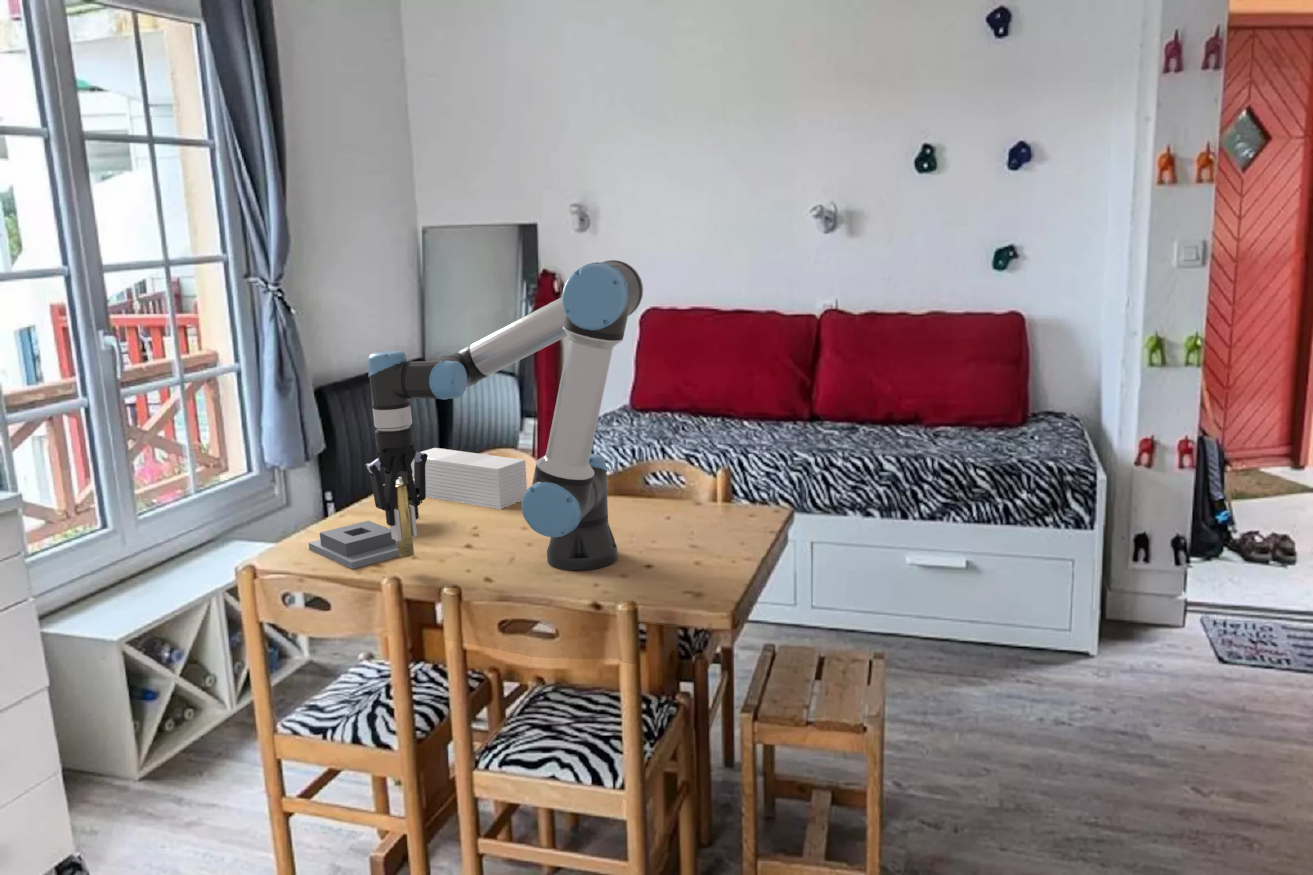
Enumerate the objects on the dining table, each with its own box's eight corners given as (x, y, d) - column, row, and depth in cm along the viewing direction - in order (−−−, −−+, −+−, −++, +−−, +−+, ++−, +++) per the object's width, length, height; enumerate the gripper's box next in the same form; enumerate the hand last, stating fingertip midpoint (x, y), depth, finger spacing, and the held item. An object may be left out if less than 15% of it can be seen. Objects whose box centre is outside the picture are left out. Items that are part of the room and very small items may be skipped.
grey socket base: (410, 553, 229) (408, 533, 228) (352, 569, 220) (350, 548, 219) (365, 534, 244) (363, 516, 243) (309, 549, 234) (307, 530, 233)
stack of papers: (409, 494, 278) (406, 455, 276) (437, 485, 287) (434, 447, 285) (500, 510, 261) (498, 468, 259) (527, 499, 270) (525, 459, 268)
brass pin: (417, 554, 217) (410, 485, 213) (403, 558, 215) (396, 488, 211) (408, 551, 219) (402, 482, 216) (395, 555, 217) (388, 485, 214)
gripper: (418, 418, 219) (428, 525, 224) (348, 431, 208) (360, 543, 213) (437, 422, 214) (447, 531, 219) (366, 436, 203) (378, 550, 208)
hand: (404, 537), depth 216 cm, fingers closed on brass pin, 3 cm apart
